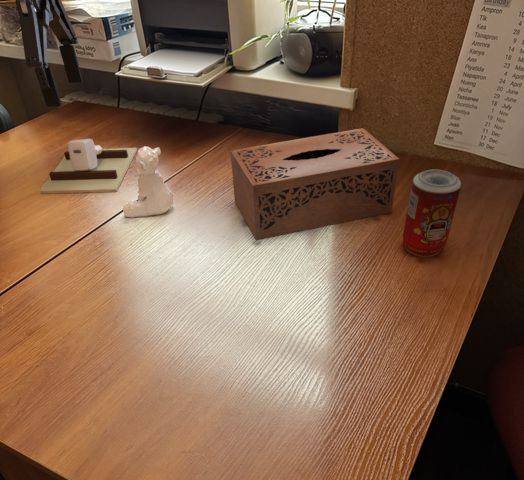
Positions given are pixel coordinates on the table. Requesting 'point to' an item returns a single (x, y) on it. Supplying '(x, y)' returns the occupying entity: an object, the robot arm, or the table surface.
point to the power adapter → (83, 154)
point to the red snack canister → (430, 211)
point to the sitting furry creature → (149, 187)
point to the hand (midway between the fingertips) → (65, 93)
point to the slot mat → (91, 173)
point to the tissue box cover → (313, 182)
